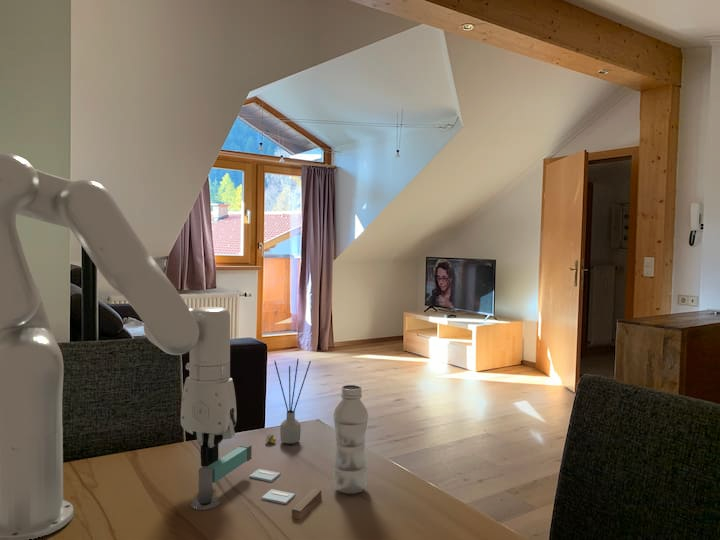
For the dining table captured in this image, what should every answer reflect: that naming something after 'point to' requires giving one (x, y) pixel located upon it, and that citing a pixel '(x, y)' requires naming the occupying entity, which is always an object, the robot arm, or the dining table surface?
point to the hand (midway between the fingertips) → (209, 464)
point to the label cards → (272, 494)
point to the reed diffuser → (289, 417)
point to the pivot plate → (206, 506)
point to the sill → (306, 504)
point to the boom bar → (221, 470)
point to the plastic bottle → (350, 442)
